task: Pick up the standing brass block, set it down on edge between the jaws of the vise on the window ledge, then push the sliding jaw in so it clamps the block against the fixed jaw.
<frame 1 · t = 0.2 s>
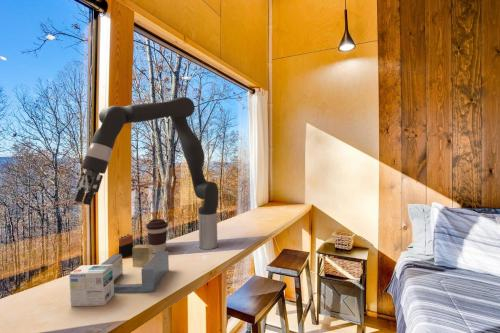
hand: (81, 203, 91), 31 cm above the table, tool tilted 20°, fingers open, 8 cm apart
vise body: (135, 280, 99), on the table
block: (143, 264, 114), on the table
battery: (124, 255, 125), on the table
coffee cup: (158, 251, 130), on the table
jaw: (107, 270, 99), point 4 cm above the table, slide at 0.0 cm
light bulb box: (93, 301, 86), on the table
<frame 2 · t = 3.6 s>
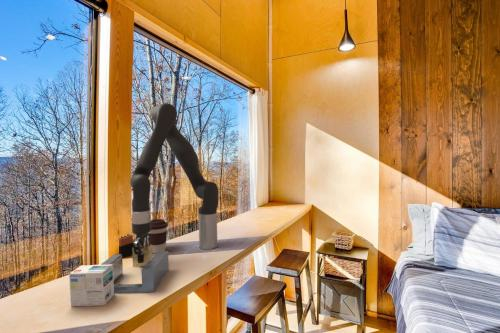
hand: (142, 260, 114), 2 cm above the table, tool pointing down, fingers closed on block, 4 cm apart
block: (143, 264, 114), on the table, touching gripper
everything else where it was.
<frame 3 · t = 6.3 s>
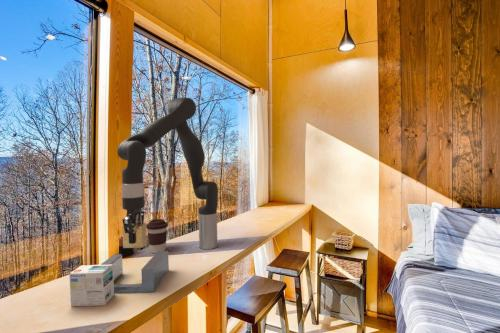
hand: (135, 241, 98), 15 cm above the table, tool pointing down, fingers closed on block, 4 cm apart
block: (135, 245, 98), point 13 cm above the table, touching gripper
everything else where it was.
when the fingers open (3 cm above the table, at t = 8.9 s): block stays where it is, on the table.
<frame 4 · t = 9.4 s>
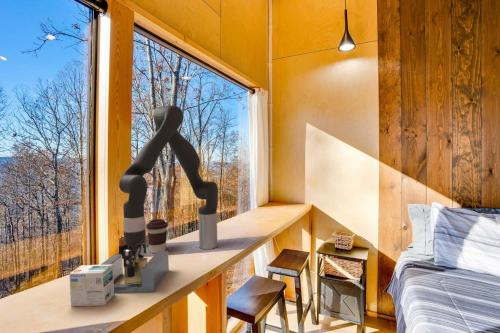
hand: (136, 271, 99), 4 cm above the table, tool pointing down, fingers open, 8 cm apart
block: (136, 280, 99), on the table
everything else where it was.
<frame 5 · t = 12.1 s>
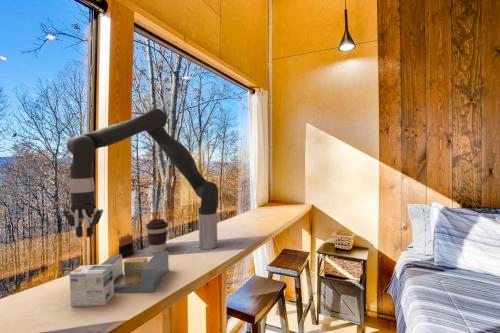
hand: (84, 236, 98), 17 cm above the table, tool pointing down, fingers open, 3 cm apart
nothing on the table moved.
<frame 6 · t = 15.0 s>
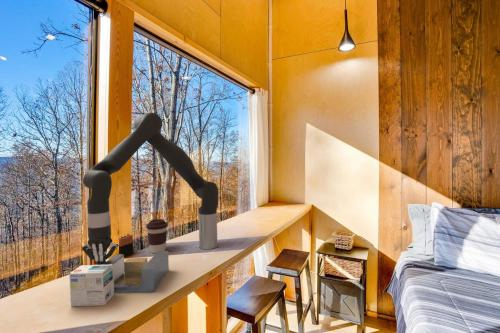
hand: (101, 270, 99), 4 cm above the table, tool pointing down, fingers closed
jaw: (109, 270, 99), point 4 cm above the table, slide at 0.6 cm, touching gripper
everything else where it was.
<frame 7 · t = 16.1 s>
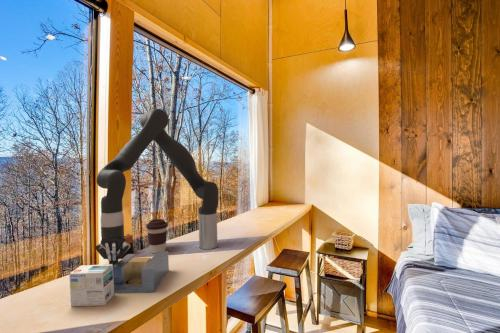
hand: (113, 269, 99), 4 cm above the table, tool pointing down, fingers closed
block: (140, 280, 99), on the table, touching jaw, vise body
jaw: (121, 270, 99), point 4 cm above the table, slide at 5.3 cm, touching block, gripper
everything else where it was.
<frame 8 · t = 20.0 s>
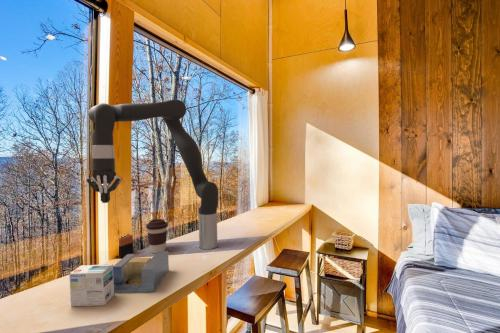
hand: (105, 202, 102), 29 cm above the table, tool pointing down, fingers closed
block: (140, 280, 99), on the table
jaw: (121, 270, 99), point 4 cm above the table, slide at 5.3 cm
everything else where it was.
at the end: block inside the target area (1.7 cm from its centre), on the table; block tilted 0°; jaw slide at 5.3 cm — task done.
